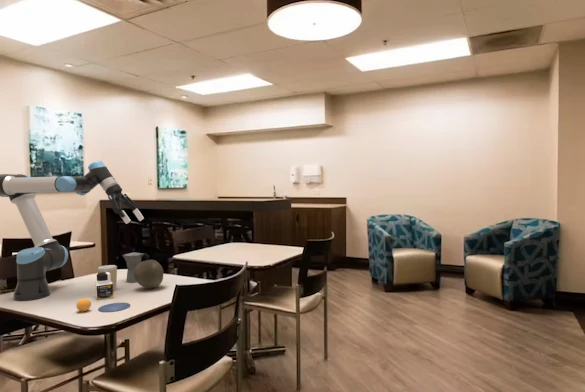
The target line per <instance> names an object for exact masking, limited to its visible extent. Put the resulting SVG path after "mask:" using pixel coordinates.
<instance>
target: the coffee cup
mask: <svg viewBox="0 0 585 392" xmlns="http://www.w3.org/2000/svg"><path fill="white" fill-rule="evenodd" d="M117 269H118V266H117V265H115V264H109V265H107V264H106V265H101V266H98V267H97V274H98V273H101V272H109V273H110V275H111V282H112V283H113V291H115V290H116V289H117V279H118V278H117V275H118V270H117Z"/></svg>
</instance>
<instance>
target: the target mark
mask: <svg viewBox="0 0 585 392" xmlns="http://www.w3.org/2000/svg"><path fill="white" fill-rule="evenodd" d="M130 307H131V304H130V303H129V302H113V303H107V304H104V305H101V306H99V307H98V309H97V310H98V312H101V313H114V312H121V311H124V310H126V309H128V308H130Z"/></svg>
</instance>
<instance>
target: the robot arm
mask: <svg viewBox="0 0 585 392" xmlns="http://www.w3.org/2000/svg"><path fill="white" fill-rule="evenodd" d="M98 185H100V188H102V190H103V191H104V192H105V194H106V195H107V199H108V200H109V202H110V204H111V208H112V210H113V213H114V214H116V215H119V216H120V218H121V219H122V221H123V222H124V223H125V224H126V225H127V224H129V223H130V222H131V221H132V219H130V217H129V216H128V214H127V213H126V212H125V210H123V209H122V205H124V206H126V207H128V208H129V209H130V210H131V211H132V213H133V214H134V215H135V217H136V218H137V220H138V221H139V222H141V221H142V220H144V219H145V218H144V216H143V214H142V213H141V211H140V210H139V209H138V208H139V205H138V204H137V203H135V201H134V200H133V199H131V198H130V197H129V196H128V195H127V194H126V193H122V192H123V188H122V187H121V185H120V184H118V181H117V180H116V178H115V177H114V176H113V175H112V173H111V172H110V170H109V169H108V167H107V166H106V165H105V163H104V162H103V160H95V161H93V162H91V163H90V164H89V165H88V172H87V173H86V174H85V175H84V176H69V175H64V176H63V175H62V176H34V177H33V176H31V175H27V174H22V173H19V174H15V173H14V174H13V173H12V174H11V173H9V174H8V173H2V174H1V173H0V197H1V198H9V201H10V203H11V204H14V205H16V208H17V210H18V212H19V214H20V216H21V218H22V220H23V222H24V225H25V226H26V227H25V228H26V229H27V231H28V234H29V236H30V239H31V240H32V242H33V245H34V247H30V248H25V249H22V250H19V251H18V252H17V254H16V260H15V262H16V277H17V278H16V279H17V284H16V287H15V289H14V293H13V299H14V300H15V301H21V302H22V301H32V300H37V299H38V300H39V299H42V298H45V297H48V296H50V295H51V288H50V285H49V283H48V281H47V278H46V276H47V275H46V274H47V273H46V272H49V271H51V270H56V269H58V268H61V267H63V266H64V265H65V264H66V263H67V261H68V258H69V252H68V249H67V248H66V247H65V246H63V245H61V244H60V243H59V241H58V240H57V239H54V238H53V236H52V234H51V232H50V230H49V228H48V225H47V224H46V221H45V219H44V217H43V214H42V212H41V210H40V208H39V206H38V203H37V202H36V199H35V198H36V197H37V194H36V193H76V194H77V195H79V196H85V195H87V194H88V193H90V192H91V191H92V190H94V188H96V187H97V186H98Z"/></svg>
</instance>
